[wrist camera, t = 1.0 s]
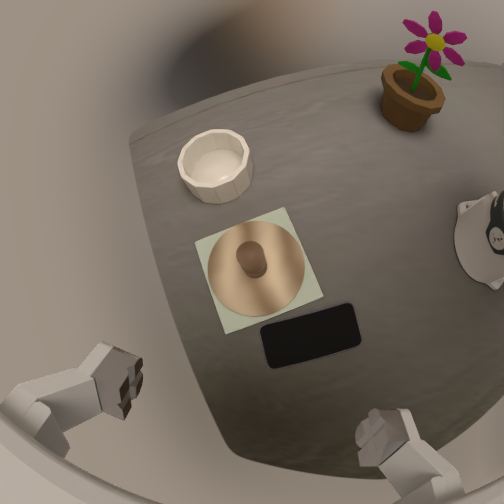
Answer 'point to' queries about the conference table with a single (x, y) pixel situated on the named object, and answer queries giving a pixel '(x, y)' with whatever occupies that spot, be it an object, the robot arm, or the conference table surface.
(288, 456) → the conference table surface
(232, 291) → the lid
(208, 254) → the mat
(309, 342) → the smartphone
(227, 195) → the bowl
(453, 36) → the flowerpot
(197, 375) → the conference table surface
